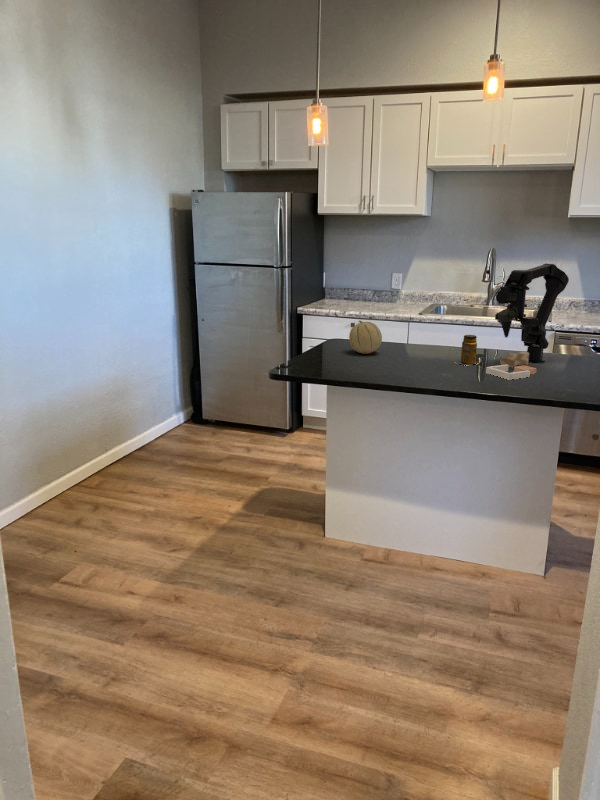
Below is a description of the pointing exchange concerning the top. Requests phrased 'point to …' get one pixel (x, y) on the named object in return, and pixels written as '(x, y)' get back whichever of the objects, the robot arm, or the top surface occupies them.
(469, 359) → the condiment
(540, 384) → the top surface
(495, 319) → the robot arm
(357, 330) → the cantaloupe
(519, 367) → the tile
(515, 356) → the scraper
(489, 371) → the corral
